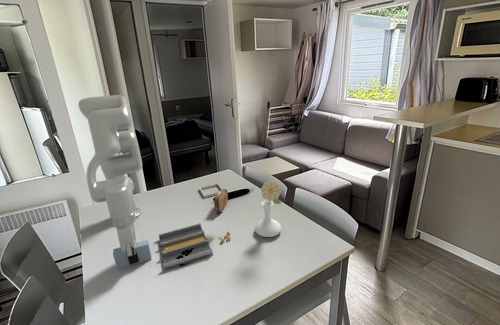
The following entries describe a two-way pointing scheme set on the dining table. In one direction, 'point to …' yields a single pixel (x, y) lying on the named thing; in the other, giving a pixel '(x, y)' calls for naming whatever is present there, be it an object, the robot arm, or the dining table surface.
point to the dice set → (225, 237)
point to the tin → (221, 200)
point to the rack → (184, 246)
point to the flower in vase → (269, 225)
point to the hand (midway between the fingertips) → (134, 259)
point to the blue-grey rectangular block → (141, 250)
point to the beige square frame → (209, 187)
